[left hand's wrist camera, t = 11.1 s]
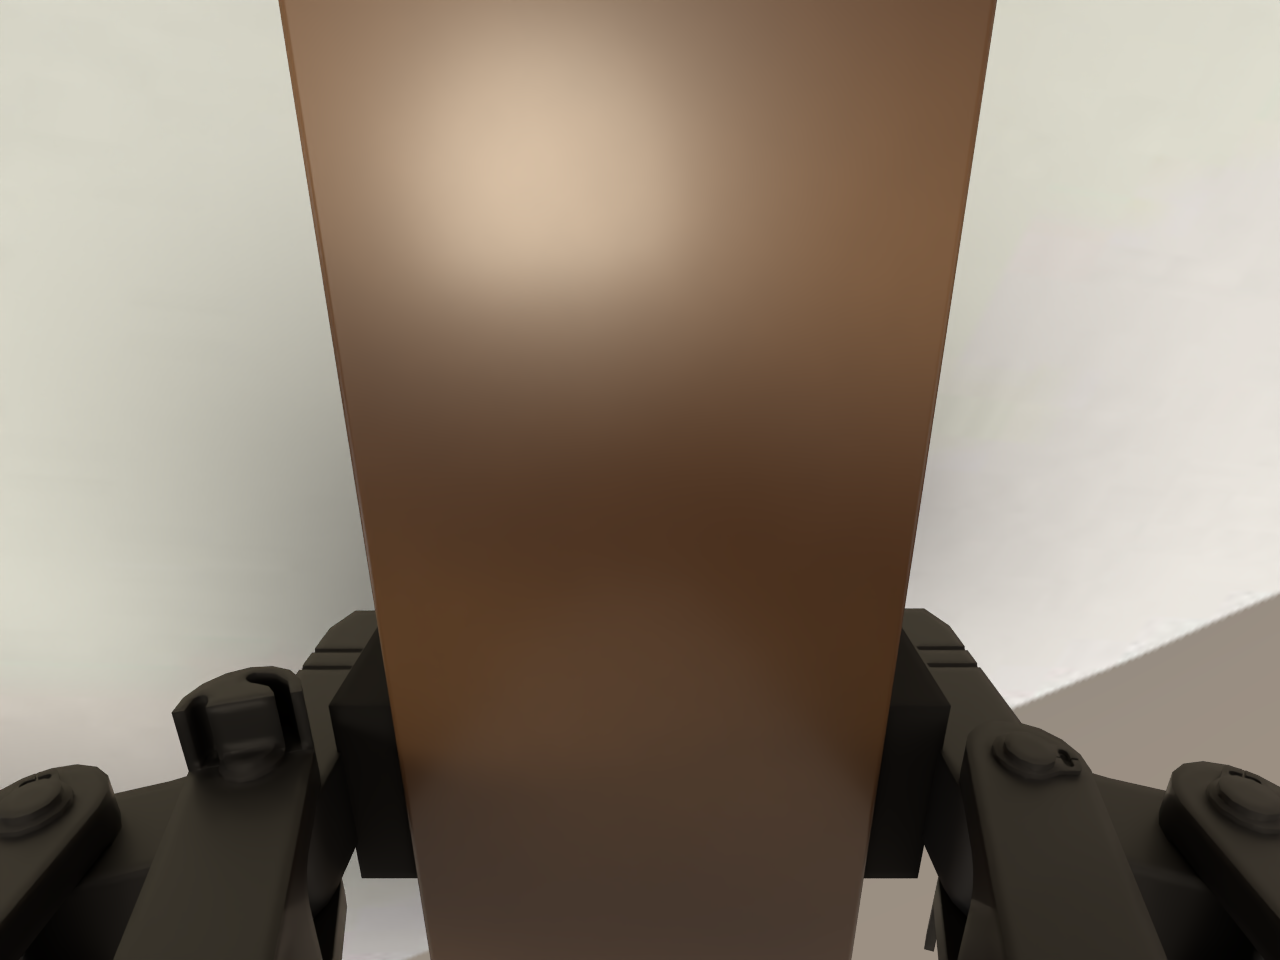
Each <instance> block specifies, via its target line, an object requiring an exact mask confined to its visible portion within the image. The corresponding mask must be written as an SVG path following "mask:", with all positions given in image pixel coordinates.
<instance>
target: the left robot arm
mask: <svg viewBox="0 0 1280 960" xmlns="http://www.w3.org/2000/svg"><path fill="white" fill-rule="evenodd" d="M172 716H173V719H174V723H175V726H176V729H177V733H178V736H179V740H180V743H181V746H182V750H183V753H184V757H185V760H186V763H187V767H188V770H189V772H188V775H187V776H186V777H183V778H180V779H176V780H173V781H169V782H165V783H160V784H156V785H151V786H147V787H142V788H138V789H134V790H129V791H125V792H120V793H116V794H114V792H113V789H112V786H111V783H110V780H109V777H108V775H107V774H105V773H104V772H103V771H102V770H100V769H99V768H98V767H94V766H86V765H78V764H77V765H70V766H64V767H57V768H51V769H48V770H45V771H42V772H39V773H37V774H33V775H30V776H28V777H25V778H23V779H21V780H19V781H17V782H15V783H13V784H11V785H9V786H8V787H6V788H4V789H2V790H0V960H342V951H343V941H344V931H345V921H346V911H347V904H346V897H345V891H344V886H343V881H342V877H343V874H344V872H345V870H346V868H347V865H348V863H349V861H350V859H351V856H352V854H353V852H354V849H355V847H356V851H357V856H358V861H359V866H360V871H361V877H362V878H418V877H417V870H416V864H415V858H414V851H413V845H412V839H411V832H410V826H409V820H408V814H407V807H406V801H405V795H404V788H403V782H402V776H401V769H400V763H399V757H398V751H397V744H396V738H395V732H394V725H393V719H392V713H391V706H390V700H389V694H388V688H387V681H386V675H385V669H384V662H383V656H382V650H381V643H380V637H379V631H378V625H377V618H376V612H375V611H354V612H353V613H351V614H350V615H349V616H347V617H346V618H344V619H343V620H341V621H340V622H338V623H337V624H336V625H334V626H333V627H331V628H330V629H329V630H328V632H327V633H326V634H325V636H324V637H323V639H322V640H321V641H320V643H319V644H318V645H317V647H316V648H315V653H312V654H311V655H310V656H309V658H308V659H307V660H306V662H305V663H304V664H303V669H302V670H299V671H298V673H297V674H296V675H295V674H294V673H293V672H292V671H291V670H287V669H283V668H278V667H274V666H267V667H250V668H246V669H242V670H238V671H234V672H230V673H226V674H224V675H222V676H219V677H217V678H215V679H213V680H211V681H208V682H206V683H204V684H202V685H201V686H199V687H198V688H196V689H195V690H194V691H192V692H191V693H189V694H188V695H186V696H185V697H184V698H183V699H182V700H181V701H180V703H179V704H178V705H177V706H176V708H175V709H174V710H173V712H172ZM924 845H925V847H926V850H927V852H928V854H929V856H930V859H931V861H932V863H933V865H934V868H935V870H936V872H937V874H938V881H937V886H936V891H935V895H934V900H933V905H932V910H931V915H930V919H929V924H928V929H927V934H926V941H925V947H924V949H926V950H930V951H934V947H935V943H936V939H937V949H938V959H939V960H1280V787H1279V786H1277V785H1275V784H1273V783H1271V782H1270V781H1268V780H1266V779H1264V778H1262V777H1260V776H1258V775H1256V774H1253V773H1251V772H1248V771H1244V770H1242V769H1239V768H1235V767H1232V766H1230V765H1224V764H1217V763H1211V762H1204V761H1201V762H1193V763H1186V764H1183V765H1181V766H1180V767H1179V768H1177V769H1176V770H1175V771H1173V772H1172V775H1171V778H1170V781H1169V784H1168V787H1167V790H1166V791H1164V790H1160V789H1155V788H1151V787H1146V786H1142V785H1137V784H1133V783H1128V782H1124V781H1119V780H1115V779H1111V778H1107V777H1103V776H1100V775H1097V774H1093V773H1092V771H1091V769H1090V768H1089V767H1088V765H1087V764H1086V762H1085V761H1084V759H1083V758H1082V756H1081V755H1080V754H1079V753H1078V752H1077V751H1075V750H1074V749H1073V748H1072V747H1070V746H1069V745H1068V744H1067V743H1066V742H1064V741H1063V740H1062V739H1060V738H1058V737H1056V736H1054V735H1052V734H1050V733H1048V732H1046V731H1044V730H1042V729H1040V728H1036V727H1033V726H1029V725H1026V724H1022V723H1021V722H1020V720H1019V719H1018V718H1017V716H1016V715H1015V714H1014V712H1013V711H1012V710H1011V708H1010V707H1009V706H1008V704H1007V703H1006V702H1005V700H1004V699H1003V698H1002V696H1001V695H1000V693H999V692H998V691H997V689H996V688H995V687H994V685H993V684H992V683H991V681H990V680H989V679H988V677H987V676H986V675H985V673H984V672H983V670H982V669H981V668H980V667H977V662H976V661H975V660H974V658H973V657H972V656H971V654H970V653H969V652H968V650H965V646H964V645H963V643H962V642H961V641H960V639H959V638H958V637H957V635H956V634H955V633H954V631H953V630H952V629H951V627H950V626H949V625H947V624H946V623H945V622H943V621H942V620H940V619H939V618H937V617H936V616H934V615H933V614H931V613H930V612H928V611H927V610H925V609H904V615H903V622H902V628H901V635H900V642H899V648H898V655H897V661H896V668H895V675H894V681H893V688H892V694H891V701H890V707H889V714H888V721H887V727H886V734H885V740H884V747H883V754H882V760H881V767H880V773H879V780H878V786H877V793H876V800H875V806H874V813H873V819H872V826H871V833H870V839H869V846H868V852H867V859H866V865H865V872H864V878H918V873H919V868H920V863H921V858H922V853H923V848H924Z"/></svg>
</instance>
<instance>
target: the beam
mask: <svg viewBox="0 0 1280 960" xmlns="http://www.w3.org/2000/svg"><path fill="white" fill-rule="evenodd" d="M278 1H279V7H280V13H281V20H282V26H283V32H284V39H285V45H286V51H287V58H288V64H289V70H290V76H291V83H292V89H293V95H294V102H295V108H296V114H297V121H298V127H299V133H300V139H301V146H302V152H303V158H304V165H305V171H306V177H307V184H308V190H309V196H310V202H311V209H312V215H313V221H314V228H315V234H316V240H317V247H318V253H319V259H320V265H321V272H322V278H323V284H324V291H325V297H326V303H327V310H328V316H329V322H330V328H331V335H332V341H333V347H334V354H335V360H336V366H337V373H338V379H339V385H340V391H341V398H342V404H343V410H344V417H345V423H346V429H347V436H348V442H349V448H350V454H351V461H352V467H353V473H354V480H355V486H356V492H357V499H358V505H359V511H360V517H361V524H362V530H363V536H364V543H365V549H366V555H367V562H368V568H369V574H370V580H371V587H372V593H373V599H374V606H375V612H376V618H377V625H378V631H379V637H380V643H381V650H382V656H383V662H384V669H385V675H386V681H387V688H388V694H389V700H390V706H391V713H392V719H393V725H394V732H395V738H396V744H397V751H398V757H399V763H400V769H401V776H402V782H403V788H404V795H405V801H406V807H407V814H408V820H409V826H410V832H411V839H412V845H413V851H414V858H415V864H416V870H417V877H418V883H419V889H420V896H421V902H422V908H423V914H424V921H425V927H426V933H427V940H428V946H429V952H430V958H431V960H851V958H852V951H853V944H854V938H855V931H856V925H857V918H858V912H859V905H860V898H861V892H862V885H863V879H864V872H865V865H866V859H867V852H868V846H869V839H870V833H871V826H872V819H873V813H874V806H875V800H876V793H877V786H878V780H879V773H880V767H881V760H882V754H883V747H884V740H885V734H886V727H887V721H888V714H889V707H890V701H891V694H892V688H893V681H894V675H895V668H896V661H897V655H898V648H899V642H900V635H901V628H902V622H903V615H904V609H905V602H906V596H907V589H908V582H909V576H910V569H911V563H912V556H913V549H914V543H915V536H916V530H917V523H918V517H919V510H920V503H921V497H922V490H923V484H924V477H925V470H926V464H927V457H928V451H929V444H930V438H931V431H932V424H933V418H934V411H935V405H936V398H937V391H938V385H939V378H940V372H941V365H942V359H943V352H944V345H945V339H946V332H947V326H948V319H949V312H950V306H951V299H952V293H953V286H954V279H955V273H956V266H957V260H958V253H959V247H960V240H961V233H962V227H963V220H964V214H965V207H966V200H967V194H968V187H969V181H970V174H971V168H972V161H973V154H974V148H975V141H976V135H977V128H978V121H979V115H980V108H981V102H982V95H983V89H984V82H985V75H986V69H987V62H988V56H989V49H990V42H991V36H992V29H993V23H994V16H995V10H996V3H997V0H278Z"/></svg>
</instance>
